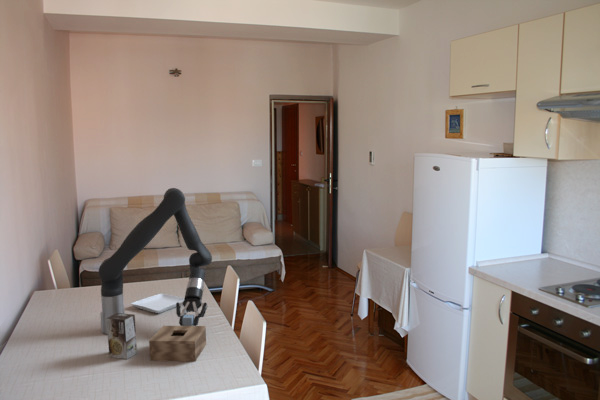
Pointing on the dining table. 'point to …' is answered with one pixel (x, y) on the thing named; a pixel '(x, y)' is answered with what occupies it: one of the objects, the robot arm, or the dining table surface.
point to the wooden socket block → (177, 343)
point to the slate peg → (188, 320)
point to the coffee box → (121, 335)
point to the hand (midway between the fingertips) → (188, 325)
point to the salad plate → (158, 303)
